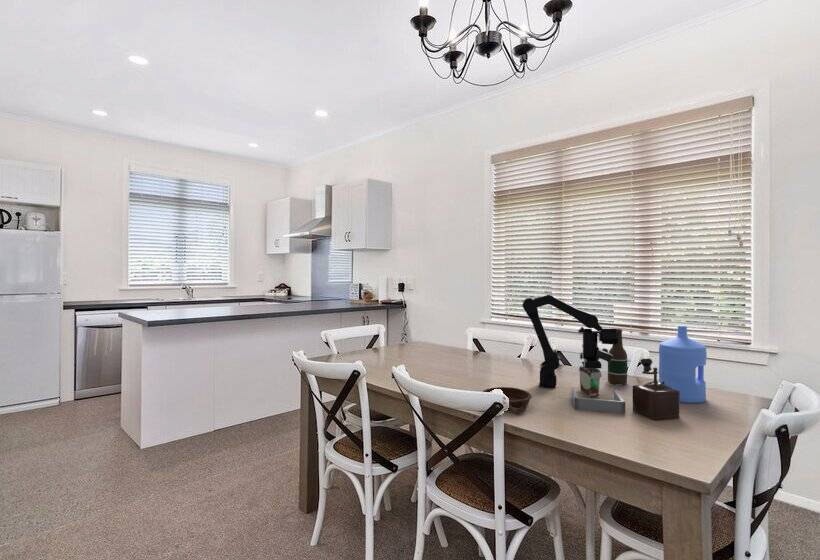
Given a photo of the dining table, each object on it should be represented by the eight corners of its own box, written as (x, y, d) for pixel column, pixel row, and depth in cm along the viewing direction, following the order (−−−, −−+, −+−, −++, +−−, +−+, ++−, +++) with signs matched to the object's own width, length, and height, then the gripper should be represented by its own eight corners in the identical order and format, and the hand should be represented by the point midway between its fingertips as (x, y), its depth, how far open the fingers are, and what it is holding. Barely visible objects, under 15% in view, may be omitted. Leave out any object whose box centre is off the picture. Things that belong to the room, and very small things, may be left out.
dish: (514, 396, 167) (514, 383, 167) (544, 414, 145) (544, 400, 145) (473, 399, 163) (473, 386, 163) (497, 418, 142) (497, 403, 141)
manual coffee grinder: (682, 418, 140) (683, 365, 140) (654, 421, 138) (655, 367, 138) (646, 404, 156) (647, 356, 155) (621, 406, 153) (621, 357, 153)
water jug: (664, 402, 158) (665, 328, 157) (653, 390, 173) (654, 323, 172) (712, 405, 153) (713, 330, 153) (697, 393, 168) (698, 324, 168)
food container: (607, 398, 162) (607, 373, 161) (591, 399, 162) (591, 373, 161) (593, 389, 174) (593, 365, 174) (579, 389, 174) (579, 365, 174)
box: (574, 409, 150) (575, 398, 150) (571, 396, 165) (571, 386, 164) (625, 413, 145) (625, 402, 145) (617, 400, 160) (617, 390, 160)
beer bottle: (631, 384, 183) (631, 329, 183) (618, 385, 180) (618, 330, 180) (616, 379, 190) (617, 327, 190) (603, 381, 187) (604, 328, 187)
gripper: (615, 348, 164) (615, 387, 164) (607, 340, 182) (607, 375, 182) (584, 347, 167) (584, 385, 167) (579, 339, 185) (579, 374, 185)
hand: (590, 380), depth 176 cm, fingers closed
